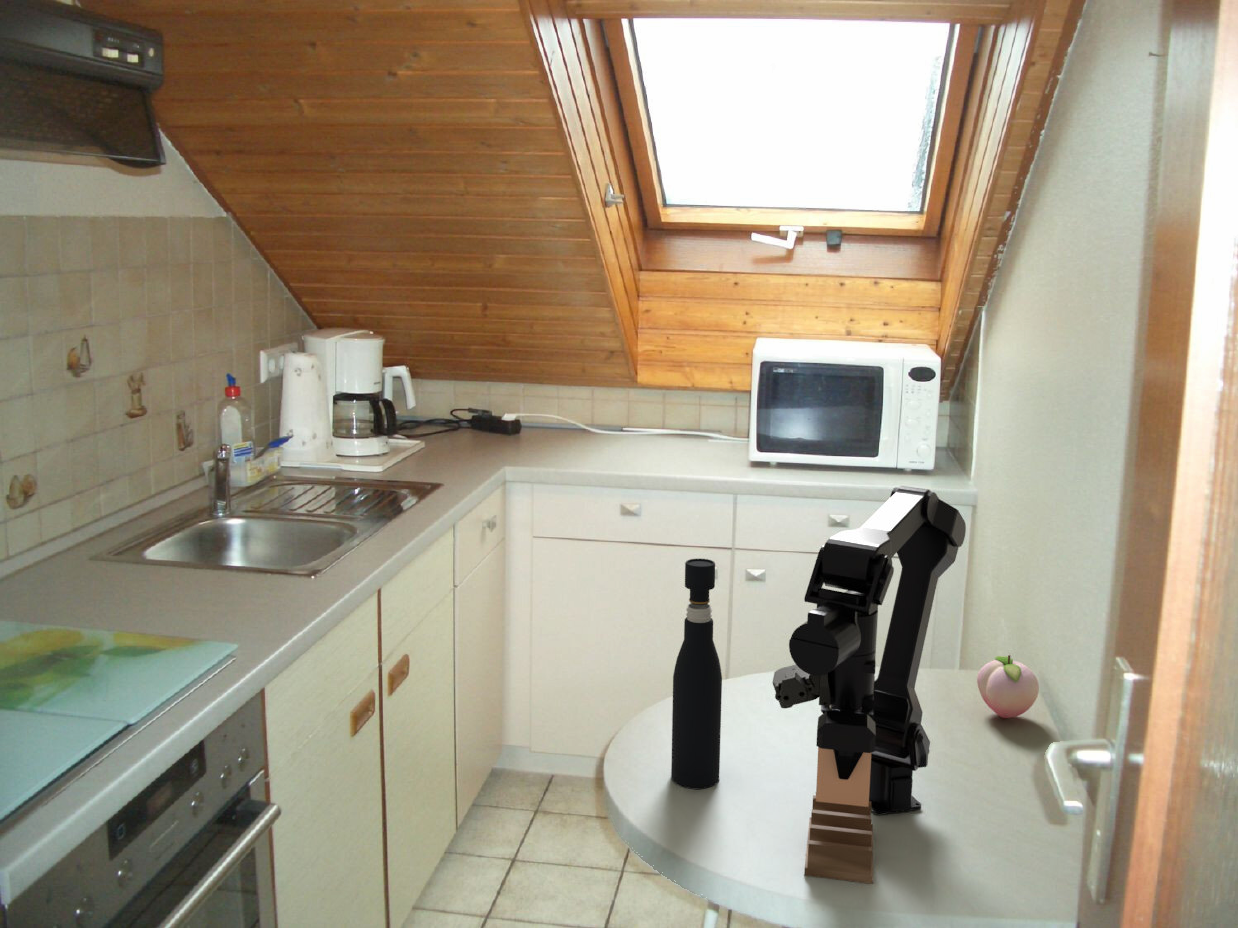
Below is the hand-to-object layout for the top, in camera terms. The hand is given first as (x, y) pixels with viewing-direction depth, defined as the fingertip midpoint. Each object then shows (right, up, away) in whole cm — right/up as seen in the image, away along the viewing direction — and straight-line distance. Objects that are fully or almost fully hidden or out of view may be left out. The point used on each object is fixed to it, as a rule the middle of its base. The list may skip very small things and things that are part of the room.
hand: (843, 773), depth 132 cm
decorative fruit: (+33, -3, +40) cm, 52 cm away
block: (0, -3, +1) cm, 3 cm away
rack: (0, -10, +2) cm, 10 cm away
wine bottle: (-16, -6, +20) cm, 26 cm away
